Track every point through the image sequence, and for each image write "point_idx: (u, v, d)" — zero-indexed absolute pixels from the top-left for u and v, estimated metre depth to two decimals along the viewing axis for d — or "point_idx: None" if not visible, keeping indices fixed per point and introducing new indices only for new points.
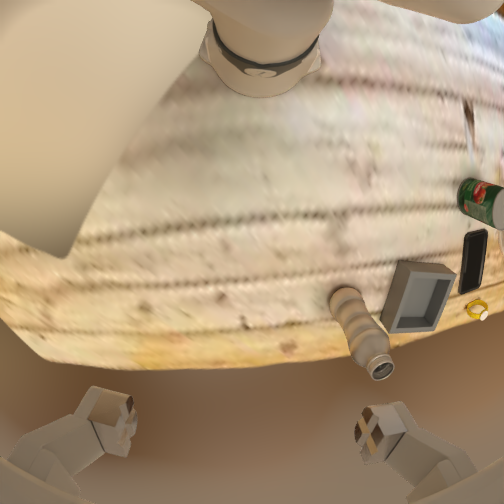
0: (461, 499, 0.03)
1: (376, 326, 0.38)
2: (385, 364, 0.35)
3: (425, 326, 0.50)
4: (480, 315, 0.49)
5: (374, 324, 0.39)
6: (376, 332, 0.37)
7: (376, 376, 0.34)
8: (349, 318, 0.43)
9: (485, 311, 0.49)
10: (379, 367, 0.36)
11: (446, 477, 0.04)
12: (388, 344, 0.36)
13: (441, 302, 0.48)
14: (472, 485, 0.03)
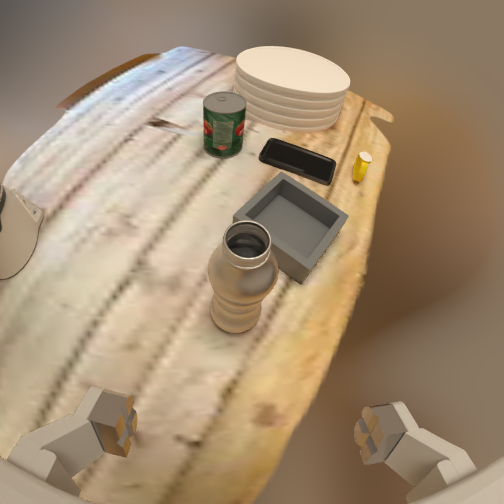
0: (461, 499, 0.03)
1: None
2: (261, 243, 0.24)
3: (334, 224, 0.43)
4: (363, 160, 0.50)
5: None
6: None
7: (263, 256, 0.22)
8: (215, 296, 0.31)
9: (360, 154, 0.51)
10: None
11: (446, 477, 0.04)
12: None
13: (308, 196, 0.45)
14: (472, 485, 0.03)
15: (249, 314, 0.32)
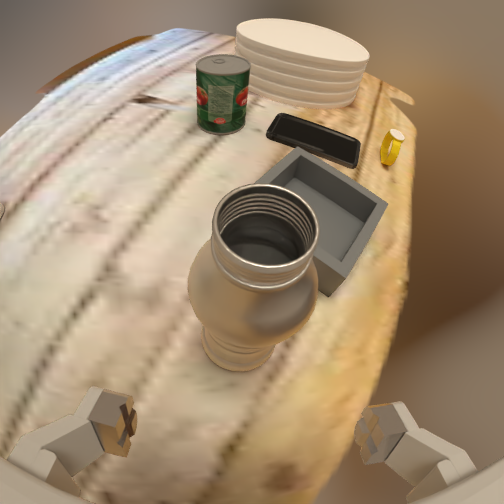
0: (461, 499, 0.03)
1: None
2: (291, 233, 0.12)
3: (371, 214, 0.30)
4: (395, 139, 0.38)
5: None
6: None
7: (303, 260, 0.10)
8: None
9: (391, 131, 0.39)
10: (298, 257, 0.12)
11: (446, 477, 0.04)
12: None
13: (335, 177, 0.33)
14: (472, 485, 0.03)
15: (261, 352, 0.19)
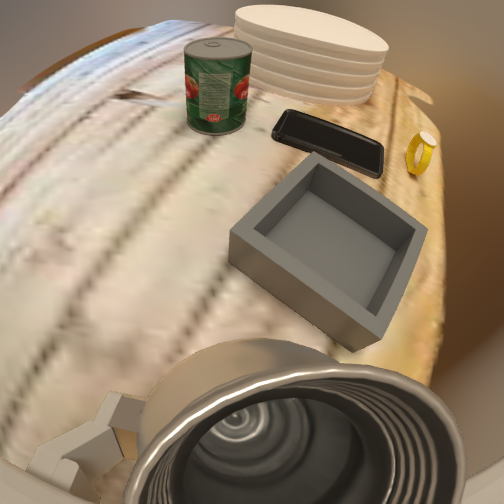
0: None
1: None
2: (363, 426, 0.04)
3: (409, 244, 0.22)
4: (426, 143, 0.30)
5: None
6: None
7: None
8: None
9: (421, 134, 0.30)
10: (369, 471, 0.03)
11: None
12: (258, 350, 0.06)
13: (363, 194, 0.24)
14: (472, 485, 0.03)
15: (268, 465, 0.11)
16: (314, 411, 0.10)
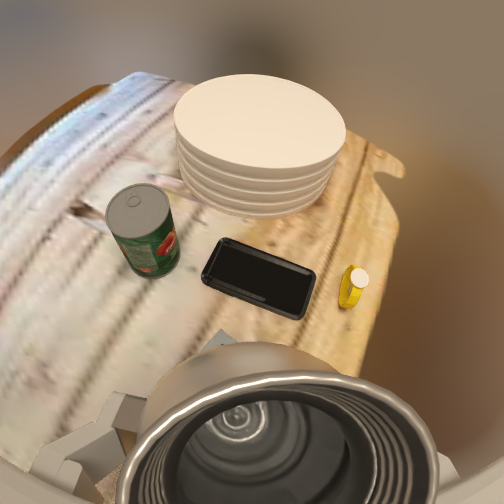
0: (461, 499, 0.03)
1: None
2: (346, 428, 0.04)
3: None
4: (355, 286, 0.35)
5: None
6: None
7: None
8: None
9: (352, 274, 0.35)
10: (353, 471, 0.04)
11: None
12: (251, 354, 0.06)
13: None
14: (472, 485, 0.03)
15: (267, 465, 0.11)
16: (311, 412, 0.10)
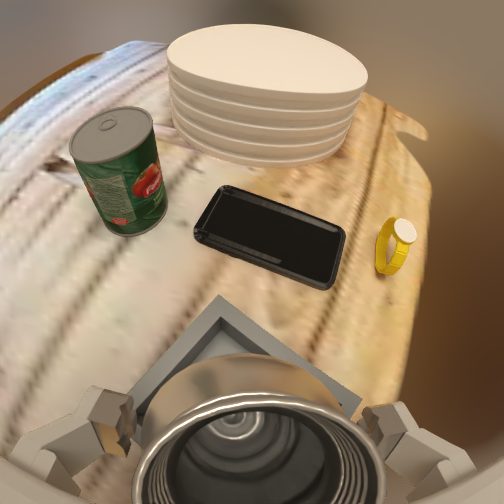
0: (461, 499, 0.03)
1: None
2: (318, 436, 0.05)
3: None
4: (401, 240, 0.25)
5: None
6: None
7: None
8: None
9: (396, 224, 0.25)
10: (326, 472, 0.05)
11: (446, 477, 0.04)
12: (241, 367, 0.07)
13: None
14: (472, 485, 0.03)
15: None
16: None
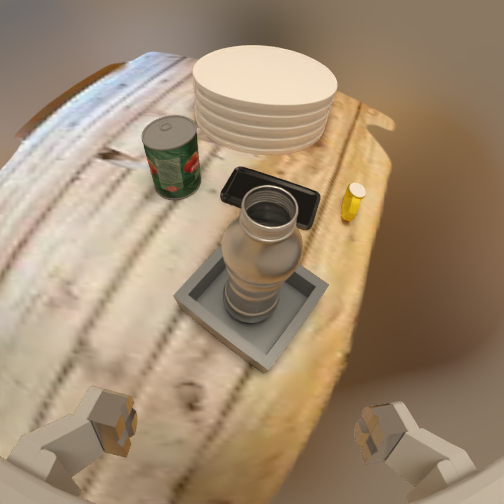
0: (461, 499, 0.03)
1: None
2: (284, 213, 0.20)
3: (307, 299, 0.33)
4: (354, 196, 0.40)
5: None
6: None
7: None
8: (229, 280, 0.27)
9: (350, 186, 0.40)
10: None
11: (446, 477, 0.04)
12: None
13: None
14: (472, 485, 0.03)
15: (268, 300, 0.28)
16: None
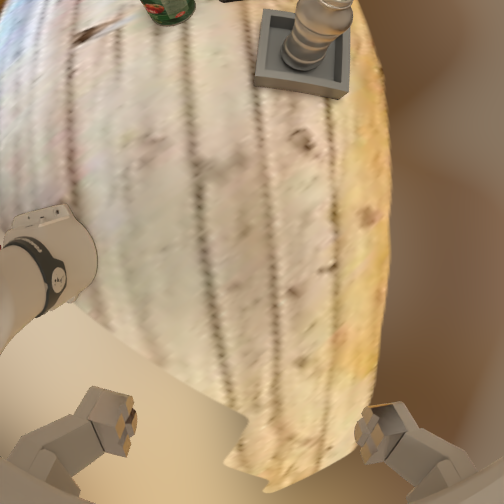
0: (461, 499, 0.03)
1: None
2: None
3: (342, 39, 0.32)
4: None
5: None
6: (298, 7, 0.22)
7: None
8: (300, 42, 0.28)
9: None
10: None
11: (446, 477, 0.04)
12: None
13: None
14: (472, 485, 0.03)
15: (328, 46, 0.29)
16: None
